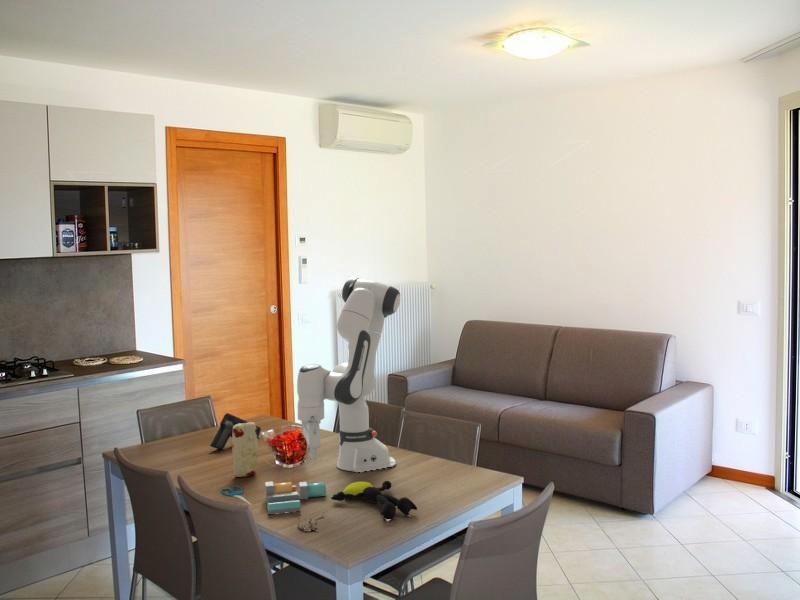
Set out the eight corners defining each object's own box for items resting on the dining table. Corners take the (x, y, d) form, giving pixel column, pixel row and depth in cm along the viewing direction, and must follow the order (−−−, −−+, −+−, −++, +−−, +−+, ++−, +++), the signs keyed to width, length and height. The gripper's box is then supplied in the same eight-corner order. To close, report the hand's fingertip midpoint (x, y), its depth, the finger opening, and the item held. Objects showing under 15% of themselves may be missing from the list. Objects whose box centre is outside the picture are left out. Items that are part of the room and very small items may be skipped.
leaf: (305, 536, 207) (305, 530, 207) (284, 520, 220) (284, 513, 220) (339, 527, 213) (339, 521, 213) (317, 512, 226) (317, 506, 226)
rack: (296, 495, 240) (295, 485, 239) (300, 511, 225) (300, 501, 225) (266, 498, 237) (265, 488, 237) (268, 515, 223) (268, 504, 222)
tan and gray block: (291, 493, 238) (290, 479, 238) (292, 497, 234) (292, 483, 233) (265, 495, 236) (265, 482, 236) (266, 500, 232) (265, 486, 231)
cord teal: (324, 493, 242) (324, 480, 241) (326, 497, 237) (325, 484, 237) (299, 495, 240) (298, 482, 239) (300, 500, 235) (300, 486, 235)
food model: (237, 480, 257) (235, 426, 255) (229, 476, 262) (227, 422, 260) (261, 475, 262) (260, 421, 261) (254, 470, 268) (252, 418, 266)
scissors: (237, 485, 250) (261, 502, 233) (237, 488, 250) (261, 505, 233) (219, 489, 246) (242, 506, 229) (219, 492, 246) (242, 509, 230)
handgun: (251, 460, 311) (261, 427, 316) (213, 446, 293) (225, 411, 298) (247, 460, 313) (257, 426, 318) (209, 446, 294) (221, 411, 299)
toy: (437, 509, 226) (380, 489, 249) (436, 490, 225) (379, 472, 249) (378, 528, 211) (324, 505, 235) (377, 508, 211) (323, 487, 234)
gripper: (324, 419, 227) (325, 462, 228) (316, 406, 247) (317, 445, 248) (304, 421, 225) (305, 463, 226) (298, 407, 245) (299, 446, 246)
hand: (311, 454), depth 237 cm, fingers open, 8 cm apart
